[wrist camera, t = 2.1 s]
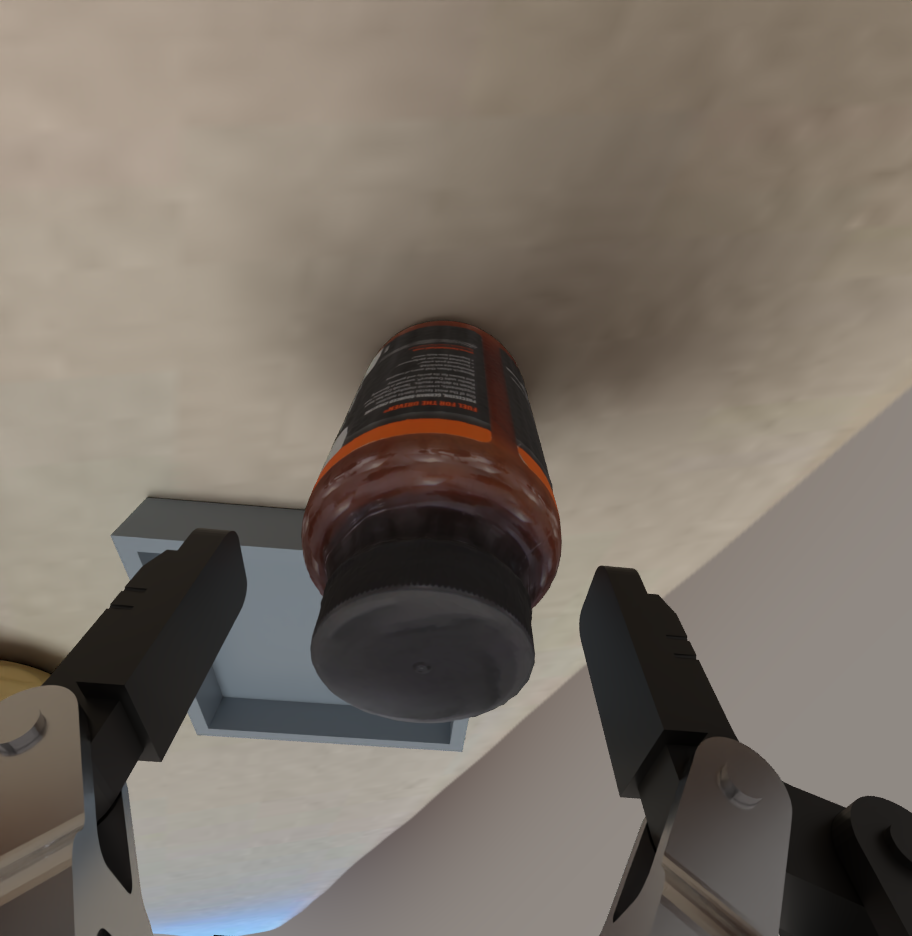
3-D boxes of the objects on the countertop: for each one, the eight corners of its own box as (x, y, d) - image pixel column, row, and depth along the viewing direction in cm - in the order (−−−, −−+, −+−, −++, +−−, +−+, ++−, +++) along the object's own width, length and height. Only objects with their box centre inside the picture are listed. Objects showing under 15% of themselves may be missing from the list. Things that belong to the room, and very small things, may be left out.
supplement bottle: (333, 370, 17) (165, 628, 7) (471, 280, 15) (481, 470, 6) (424, 483, 20) (385, 776, 10) (550, 418, 18) (645, 702, 8)
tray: (147, 497, 20) (110, 535, 18) (495, 525, 21) (499, 565, 19) (216, 693, 29) (197, 734, 27) (462, 710, 29) (462, 751, 27)
